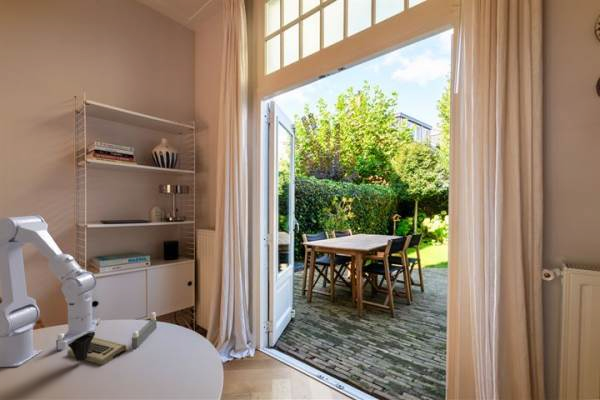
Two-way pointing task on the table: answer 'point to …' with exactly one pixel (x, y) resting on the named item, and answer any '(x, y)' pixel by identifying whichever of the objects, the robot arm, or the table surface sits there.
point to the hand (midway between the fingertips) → (81, 359)
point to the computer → (102, 351)
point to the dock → (137, 336)
